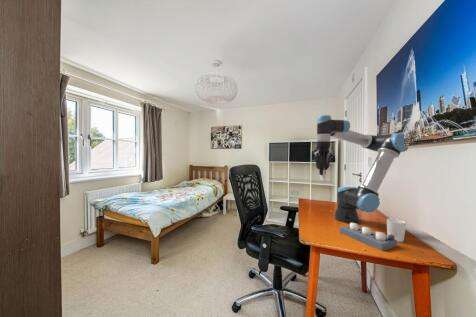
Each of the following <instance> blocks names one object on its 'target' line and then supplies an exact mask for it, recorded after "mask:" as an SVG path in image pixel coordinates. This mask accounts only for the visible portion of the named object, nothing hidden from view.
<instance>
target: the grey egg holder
mask: <svg viewBox="0 0 476 317" xmlns="http://www.w3.org/2000/svg"><path fill="white" fill-rule="evenodd" d="M339 233H340V234H342V235H344V236H346V237H349V238H352V239H354V240H356V241H358V242H360V243H363V244H366V245H367V246H370V247H372V248H375V249H376V250H379V251H385V250H388V249H391V248H396V247H397V245H398V244H397V240H395V239H394V236H393V235H392V233H390V235H388V234H387V236H386V239H385V241H384V242H382V241H380V240H377V239H376V231H373V230H371V235H370V236H367V235H364V234H362V227H360V226H358V231H354V230H351V229H350V225H347V226H342V227H340V228H339Z"/></svg>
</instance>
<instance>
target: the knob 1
mask: <svg viewBox="0 0 476 317" xmlns="http://www.w3.org/2000/svg"><path fill="white" fill-rule="evenodd" d="M349 226H350V229H351V230H354V231H358V227H359V223H349Z"/></svg>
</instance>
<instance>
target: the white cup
mask: <svg viewBox="0 0 476 317" xmlns="http://www.w3.org/2000/svg"><path fill="white" fill-rule="evenodd" d="M406 226H407V223H406V221H404V220H401V219H396V218H386V233H387V236H388V235H390V233H392V235H393V236H394V239H395V240H397V242H398V243H399V242H400V243H403V242H404V241H405V234H406Z"/></svg>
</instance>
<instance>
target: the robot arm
mask: <svg viewBox="0 0 476 317" xmlns="http://www.w3.org/2000/svg"><path fill="white" fill-rule="evenodd" d="M350 128H351V123H350V121H349V120H345V119H332V116H331V115H329V114H328V115H327V114H325V115H318V117H317V121H316V141H317V142H316V148H317V150H316V151H315V152H313V155H314V159H315V166H316V169H318V170H319V181H325V182H326V174H327V170H328V169H330V168H329V167H330V164H331V157H332V156H333V153H332V152H330V148H331V137H332V138H336V139H339V140H342V141H346V142H348V143H353V144H355V145H358V146H361V147H362V148H363V149H366V150H370V151H373V152H377V155H376V157H375V159H374V162H373V163H372V165H371V167H370V169H369V171H368V173H367V175H366V177H365V179H364V180H363V182H362V184H361V185H358V186H357V187H356V186H339V187H338V188H337V208H336V210H335V213H334V219H335V220H336V221H338V222H341V223H342V222H343V223H347V224H350V223H356V224H359V222H360V217H359V213H358V211H357V210H359V211H361V212H365V213H373V212H375V211H376V210H377V209H378V208H379V206H380V203H381V202H380V198H379V195H380V194H379V192H378V190H379V189H380V187H381V185H382V184H383V181H384V179H385V178H386V175H387V174H388V171H389V170H390V167H391V166H392V164H393V162H394V159H396V158H399V156H400V155H401V153H404V152H406V151H408V150H409V148H408V147H405V146H404V135H405V133H402V132H398V133H397V132H393V133H387V134H380V135H379V134H378V135H372V134H363V133H361V132H357V131H354V130H351V129H350Z"/></svg>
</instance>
